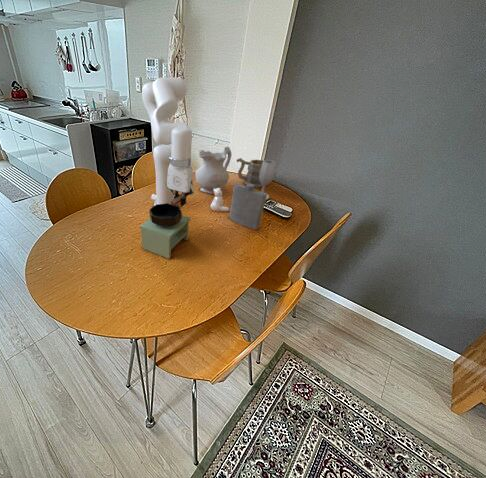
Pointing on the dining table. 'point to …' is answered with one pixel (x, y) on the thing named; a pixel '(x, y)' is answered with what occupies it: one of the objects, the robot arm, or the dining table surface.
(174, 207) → the pan
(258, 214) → the hip flask
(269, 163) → the wineglass
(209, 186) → the ceramic pitcher
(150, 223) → the sage green box
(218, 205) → the sitting furry creature
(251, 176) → the tankard
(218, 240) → the dining table surface
